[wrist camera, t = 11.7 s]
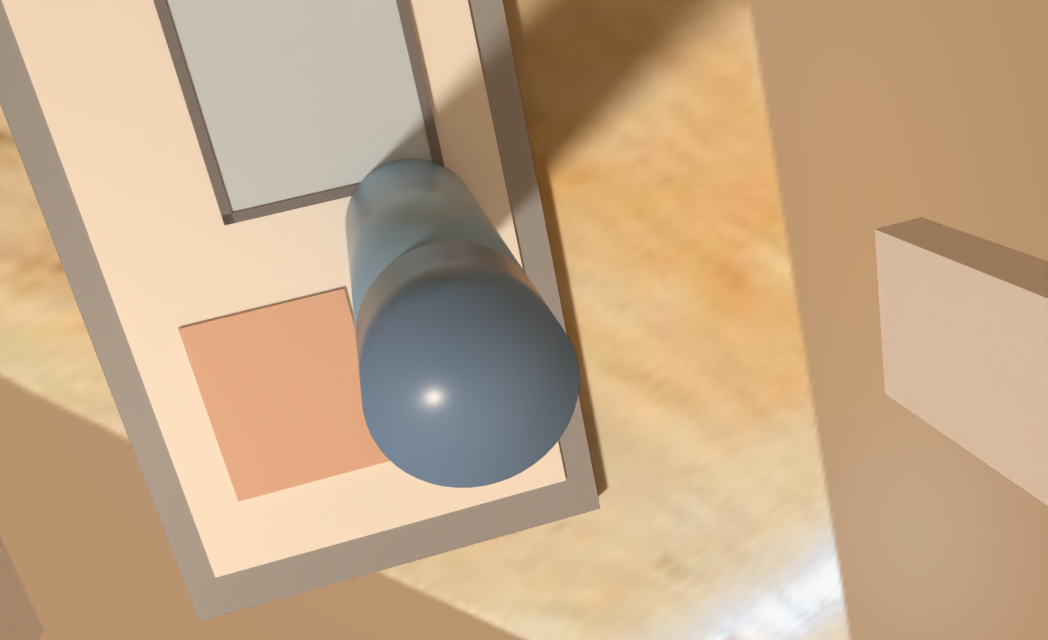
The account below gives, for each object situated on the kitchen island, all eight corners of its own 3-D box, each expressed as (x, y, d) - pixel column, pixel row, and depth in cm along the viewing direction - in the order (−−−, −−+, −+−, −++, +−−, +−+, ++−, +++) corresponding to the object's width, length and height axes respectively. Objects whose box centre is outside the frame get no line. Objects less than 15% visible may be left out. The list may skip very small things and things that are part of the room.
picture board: (-96, -170, 23) (-112, -177, 22) (447, -265, 25) (451, -274, 24) (201, 611, 31) (198, 626, 30) (595, 500, 33) (602, 512, 32)
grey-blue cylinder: (328, 178, 27) (332, 324, 16) (460, 143, 27) (555, 260, 16) (366, 302, 28) (395, 514, 17) (491, 267, 29) (597, 451, 18)
